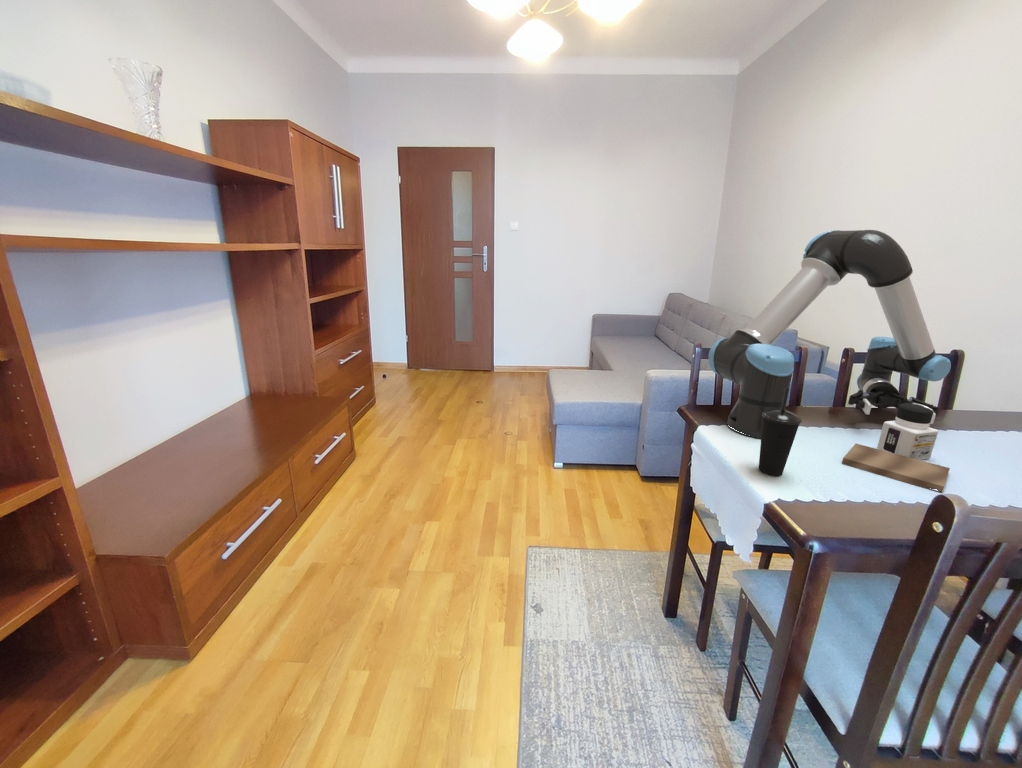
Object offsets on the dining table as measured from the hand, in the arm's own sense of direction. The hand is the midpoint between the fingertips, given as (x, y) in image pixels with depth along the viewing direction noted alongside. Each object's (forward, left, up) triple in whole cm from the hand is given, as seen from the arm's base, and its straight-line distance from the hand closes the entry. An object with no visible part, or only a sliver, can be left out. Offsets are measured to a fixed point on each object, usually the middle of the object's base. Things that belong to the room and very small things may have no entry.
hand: (900, 414), depth 122 cm
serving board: (+3, -22, -7) cm, 23 cm away
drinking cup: (-16, -46, -8) cm, 49 cm away
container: (+3, -9, -8) cm, 12 cm away
